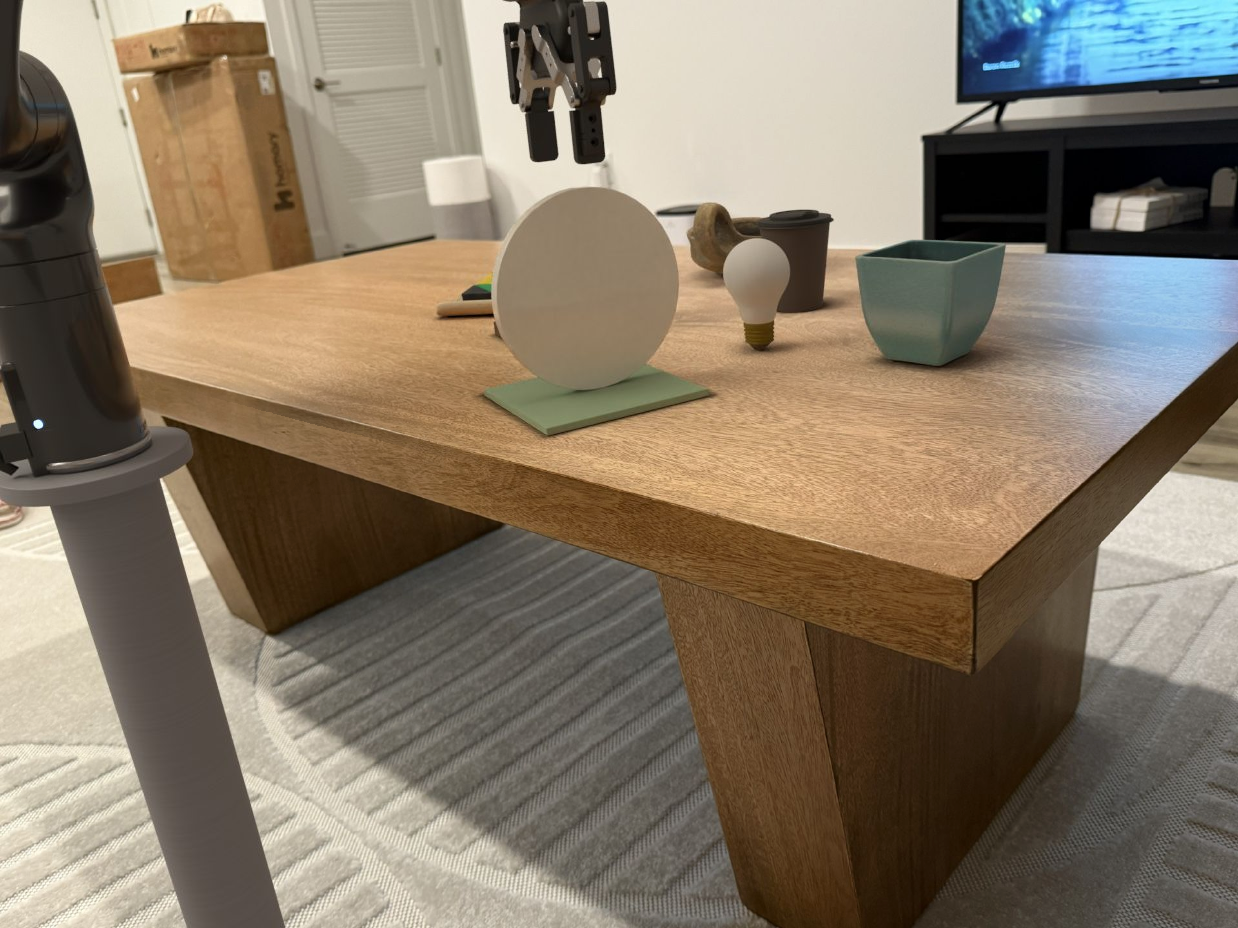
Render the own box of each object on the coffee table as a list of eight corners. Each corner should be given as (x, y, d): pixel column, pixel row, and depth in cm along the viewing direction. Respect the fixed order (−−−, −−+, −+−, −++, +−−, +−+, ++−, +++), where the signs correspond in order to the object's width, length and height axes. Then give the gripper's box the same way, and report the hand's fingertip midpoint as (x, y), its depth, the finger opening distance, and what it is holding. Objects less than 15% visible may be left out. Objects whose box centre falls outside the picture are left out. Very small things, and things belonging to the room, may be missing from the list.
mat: (547, 436, 73) (546, 428, 72) (484, 395, 85) (483, 389, 84) (709, 395, 78) (708, 388, 78) (628, 363, 90) (627, 356, 90)
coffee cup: (819, 316, 100) (816, 215, 97) (746, 314, 104) (741, 217, 101) (846, 299, 106) (845, 204, 103) (777, 297, 111) (773, 206, 107)
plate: (500, 401, 77) (491, 189, 72) (495, 397, 78) (486, 189, 73) (678, 379, 84) (680, 184, 79) (671, 376, 85) (673, 184, 80)
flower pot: (1004, 350, 82) (1009, 241, 79) (951, 377, 76) (954, 261, 73) (909, 340, 88) (910, 238, 85) (853, 364, 82) (852, 256, 79)
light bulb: (714, 351, 91) (707, 242, 87) (761, 338, 94) (756, 231, 90) (758, 361, 86) (752, 246, 83) (806, 347, 89) (802, 235, 86)
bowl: (814, 263, 128) (812, 184, 125) (753, 291, 115) (749, 204, 112) (721, 262, 136) (717, 188, 133) (654, 289, 123) (647, 207, 119)
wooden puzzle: (433, 320, 118) (428, 291, 116) (493, 288, 134) (489, 262, 133) (571, 315, 113) (567, 284, 111) (616, 282, 129) (613, 255, 128)
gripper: (459, -58, 74) (488, 166, 79) (529, -99, 62) (558, 170, 67) (550, -61, 77) (573, 156, 82) (635, -100, 65) (654, 158, 70)
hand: (566, 162), depth 75 cm, fingers open, 8 cm apart
